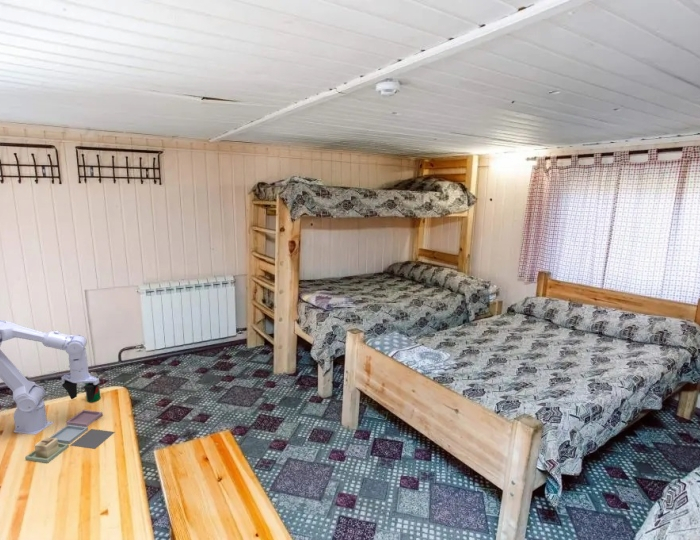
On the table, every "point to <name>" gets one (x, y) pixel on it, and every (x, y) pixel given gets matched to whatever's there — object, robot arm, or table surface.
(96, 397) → the soda can
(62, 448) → the tray near
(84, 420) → the tray far
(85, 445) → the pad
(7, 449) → the table surface
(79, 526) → the table surface
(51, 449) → the letter cube
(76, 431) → the tray mid
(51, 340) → the robot arm
